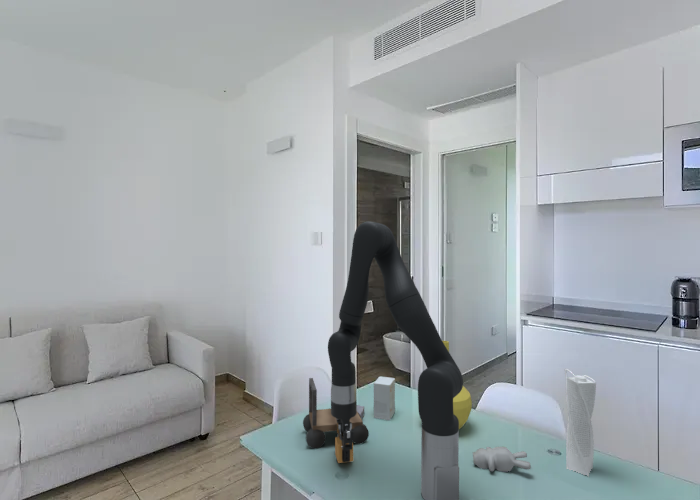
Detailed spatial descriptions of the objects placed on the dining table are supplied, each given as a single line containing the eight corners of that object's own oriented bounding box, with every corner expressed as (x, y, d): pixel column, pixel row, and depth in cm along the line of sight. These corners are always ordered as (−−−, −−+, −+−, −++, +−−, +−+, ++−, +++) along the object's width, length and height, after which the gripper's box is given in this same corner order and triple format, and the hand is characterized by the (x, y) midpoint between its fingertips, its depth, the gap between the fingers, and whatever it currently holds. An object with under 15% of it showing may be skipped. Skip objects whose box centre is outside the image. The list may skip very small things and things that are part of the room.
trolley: (360, 426, 138) (360, 374, 137) (368, 443, 126) (369, 386, 126) (302, 431, 133) (303, 378, 133) (306, 449, 122) (306, 391, 121)
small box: (379, 409, 152) (379, 375, 151) (395, 411, 149) (395, 377, 149) (373, 418, 144) (373, 382, 144) (389, 420, 142) (390, 385, 142)
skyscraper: (559, 469, 112) (561, 371, 111) (566, 458, 117) (567, 365, 117) (592, 480, 106) (593, 377, 106) (597, 468, 112) (598, 370, 112)
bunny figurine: (471, 442, 119) (524, 442, 115) (473, 459, 119) (526, 460, 115) (472, 458, 110) (530, 459, 106) (475, 476, 110) (532, 479, 106)
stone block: (334, 430, 139) (361, 427, 137) (331, 416, 139) (359, 413, 137) (341, 417, 150) (366, 414, 148) (338, 404, 151) (364, 401, 149)
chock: (353, 461, 113) (353, 443, 113) (338, 463, 112) (338, 445, 112) (349, 452, 117) (349, 435, 117) (335, 454, 117) (335, 437, 116)
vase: (440, 410, 150) (441, 333, 150) (482, 428, 136) (483, 343, 136) (407, 423, 139) (407, 340, 139) (448, 444, 125) (449, 351, 124)
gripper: (362, 406, 108) (362, 468, 108) (351, 388, 122) (351, 442, 122) (335, 409, 107) (335, 471, 107) (327, 390, 121) (327, 445, 121)
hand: (344, 455), depth 115 cm, fingers closed on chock, 5 cm apart
